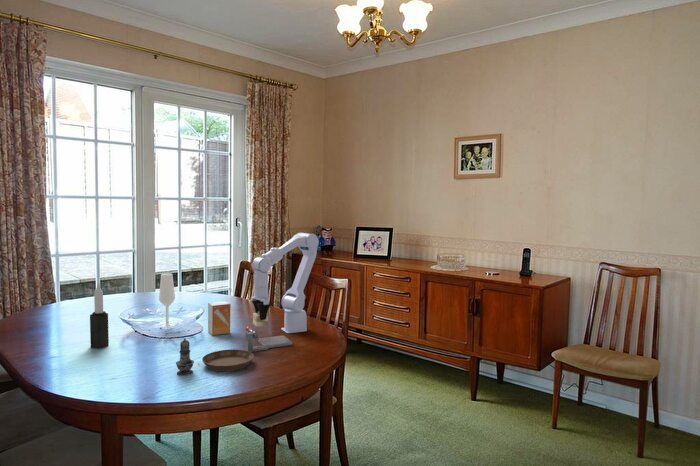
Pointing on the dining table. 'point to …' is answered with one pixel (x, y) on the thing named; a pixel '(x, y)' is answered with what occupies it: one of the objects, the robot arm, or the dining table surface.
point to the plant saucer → (227, 360)
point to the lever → (255, 334)
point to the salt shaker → (184, 359)
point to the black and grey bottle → (99, 322)
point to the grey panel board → (266, 342)
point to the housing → (257, 320)
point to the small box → (219, 317)
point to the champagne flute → (167, 294)
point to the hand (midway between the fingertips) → (261, 318)
